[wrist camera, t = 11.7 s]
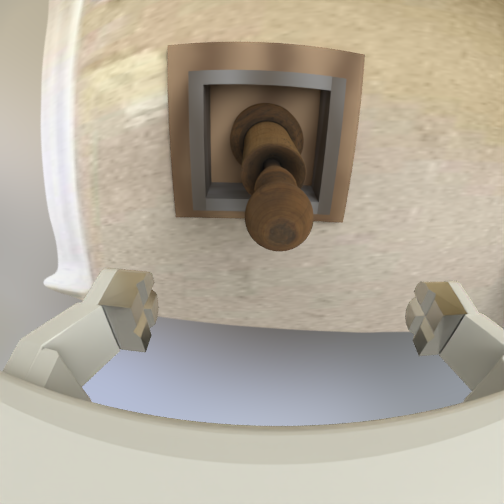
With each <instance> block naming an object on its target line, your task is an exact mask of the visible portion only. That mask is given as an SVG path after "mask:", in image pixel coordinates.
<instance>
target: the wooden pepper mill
mask: <svg viewBox="0 0 504 504" xmlns="http://www.w3.org/2000/svg"><path fill="white" fill-rule="evenodd" d="M303 144H304V138H303V132H302V129H301V127H300V125H299V123H298V121H297V120H296V119H295V117H294V116H293V115H292V114H291V113H290V112H289V111H288V110H286V109H285V108H283V107H281V106H279V105H276V104H272V103H259V104H255V105H252V106H250V107H248V108H246V109H245V110H243V111H242V112H241V113H240V114H239V115H238V117H237V118H236V120H235V121H234V123H233V126H232V129H231V134H230V146H231V150H232V153H233V155H234V157H235V159H236V160H237V161H238V163H239V164H240V165H241V181H242V184H243V186H244V188H245V189H246V191H247V192H248V193H249V194H250V195H251V197H250V198H249V200H248V203H247V205H246V209H245V224H246V227H247V230H248V232H249V234H250V236H251V237H252V238H253V240H254V241H255V242H256V243H258V244H259V245H260V246H262V247H264V248H266V249H269V250H272V251H287V250H290V249H293V248H295V247H297V246H299V245H300V244H301V243H302V242H303V241H304V240H305V239H306V238H307V237H308V235H309V233H310V231H311V229H312V225H313V219H314V215H313V208H312V205H311V202H310V200H309V198H308V197H307V195H306V194H305V193H304V192H303V191H302V190H301V188H302V186H303V185H304V182H305V178H306V166H305V163H304V160H303V158H302V157H301V153H302V150H303Z"/></svg>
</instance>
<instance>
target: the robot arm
mask: <svg viewBox="0 0 504 504" xmlns="http://www.w3.org/2000/svg"><path fill="white" fill-rule="evenodd" d="M153 285H154V280H153V276H152V273H150V272H147V271H136V270H126V269H113V268H105V269H103V270H102V271H101V272H100V274H99V276H98V277H97V279H96V280H95V282H94V284H93V285H92V287H91V289H90V290H89V292H88V293H87V295H86V297H85V298H84V300H83V302H82V303H76V304H75V305H73V306H71V307H70V308H68V309H67V310H65V311H63V312H62V313H60V314H59V315H57V316H56V317H54V318H53V319H51V320H49V321H48V322H46V323H45V324H43V325H42V326H40V327H39V328H37V329H35V330H34V331H32V332H31V333H29V334H28V335H26V336H25V337H23V338H22V339H20V341H19V343H18V344H17V346H16V348H15V350H14V351H13V353H12V355H11V357H10V358H9V361H8V362H7V364H6V366H5V368H4V370H3V371H0V504H504V329H503V328H501V327H500V326H499V325H497V324H496V323H495V322H493V321H492V320H491V319H489V318H488V317H487V316H485V315H484V314H483V313H479V312H478V311H477V309H476V307H475V306H474V304H473V303H472V301H471V299H470V298H469V296H468V295H467V293H466V292H465V290H464V289H463V287H462V286H461V284H460V283H459V282H457V281H444V282H419V283H418V284H417V286H416V288H415V290H414V293H415V297H414V298H413V299H412V300H411V301H410V302H409V304H408V306H407V309H406V315H405V319H406V325H407V327H408V330H409V331H410V332H412V333H413V334H414V338H413V342H414V345H415V347H416V350H417V352H418V355H419V356H427V355H436V354H440V355H439V356H440V357H441V358H442V359H443V360H444V361H445V362H446V363H447V364H448V365H449V366H450V367H451V369H453V371H454V372H455V373H456V374H457V375H458V376H459V377H460V378H461V379H462V380H463V382H464V383H465V384H466V385H467V386H468V387H469V388H470V389H471V390H472V392H471V393H470V394H469V395H468V396H467V397H466V398H465V400H464V402H463V403H459V404H456V405H452V406H448V407H444V408H440V409H435V410H430V411H426V412H421V413H415V414H410V415H405V416H399V417H392V418H386V419H379V420H371V421H363V422H353V423H342V424H329V425H310V426H250V425H231V424H216V423H206V422H196V421H187V420H180V419H173V418H166V417H160V416H153V415H148V414H142V413H137V412H132V411H127V410H122V409H118V408H113V407H109V406H104V405H101V404H97V403H93V402H91V400H90V398H89V397H88V395H87V394H86V392H85V391H84V390H83V388H82V386H83V385H84V384H85V383H86V382H87V381H89V379H91V377H93V376H94V375H95V374H96V373H97V372H98V371H99V370H100V369H101V368H102V367H103V366H104V365H105V364H106V363H108V361H110V360H111V359H112V358H113V357H114V356H115V355H116V354H117V353H118V352H119V351H120V349H122V350H131V351H139V352H146V350H147V347H148V344H149V341H150V338H151V332H150V329H149V328H151V327H152V326H153V325H155V323H156V320H157V317H158V308H159V307H158V298H157V294H156V293H155V292H154V291H153V290H152V287H153Z"/></svg>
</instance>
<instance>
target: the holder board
mask: <svg viewBox="0 0 504 504" xmlns="http://www.w3.org/2000/svg"><path fill="white" fill-rule="evenodd" d="M364 58H365V55H363V54H358V53H353V52H347V51H341V50H335V49H328V48H321V47H313V46H305V45H294V44H282V43H265V42H208V43H190V44H178V45H168V107H169V131H170V149H171V164H172V178H173V190H174V201H175V212H176V217H205V218H245V209H246V205H247V203H248V200H249V198H250V197H251V195H250V194H249V193H248V192H247V191H246V189H245V188H244V186H243V184H242V181H241V165H240V164H239V163H238V161H237V160H236V159H235V157H234V155H233V153H232V150H231V146H230V134H231V129H232V126H233V123H234V121H235V120H236V118H237V117H238V115H239V114H240V113H241V112H242V111H243V110H245V109H246V108H248V107H250V106H252V105H255V104H259V103H272V104H276V105H279V106H281V107H283V108H285V109H286V110H288V111H289V112H290V113H291V114H292V115H293V116H294V117H295V119H296V120H297V121H298V123H299V125H300V127H301V129H302V132H303V138H304V144H303V150H302V153H301V157H302V158H303V160H304V163H305V166H306V178H305V182H304V185H303V186H302V188H301V190H302V191H303V192H304V193H305V194H306V195H307V197H308V198H309V200H310V202H311V205H312V208H313V215H314V219H313V221H325V222H343V218H344V213H345V207H346V202H347V196H348V190H349V185H350V178H351V172H352V166H353V159H354V152H355V145H356V138H357V130H358V122H359V113H360V104H361V94H362V84H363V72H364Z"/></svg>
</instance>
